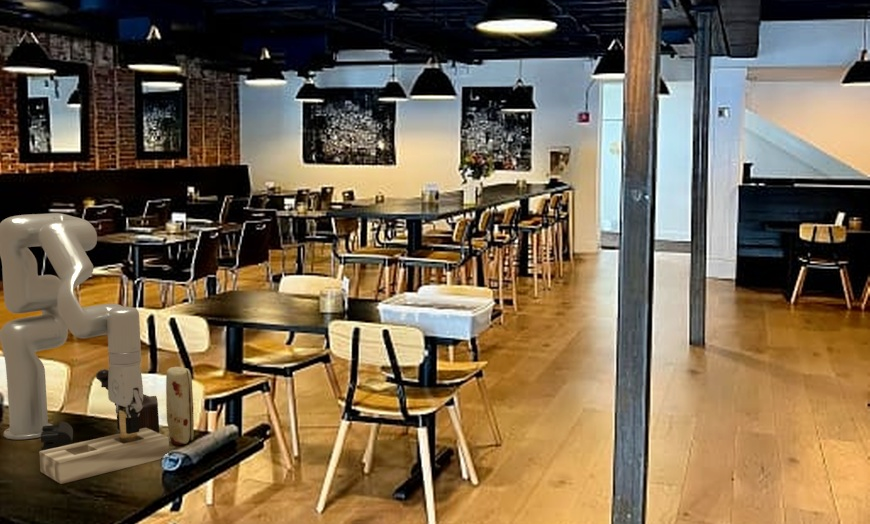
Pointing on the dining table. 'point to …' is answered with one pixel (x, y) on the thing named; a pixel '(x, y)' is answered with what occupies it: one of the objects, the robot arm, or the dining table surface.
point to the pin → (123, 435)
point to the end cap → (56, 435)
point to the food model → (179, 405)
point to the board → (102, 455)
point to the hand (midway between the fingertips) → (128, 429)
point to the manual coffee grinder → (149, 406)
